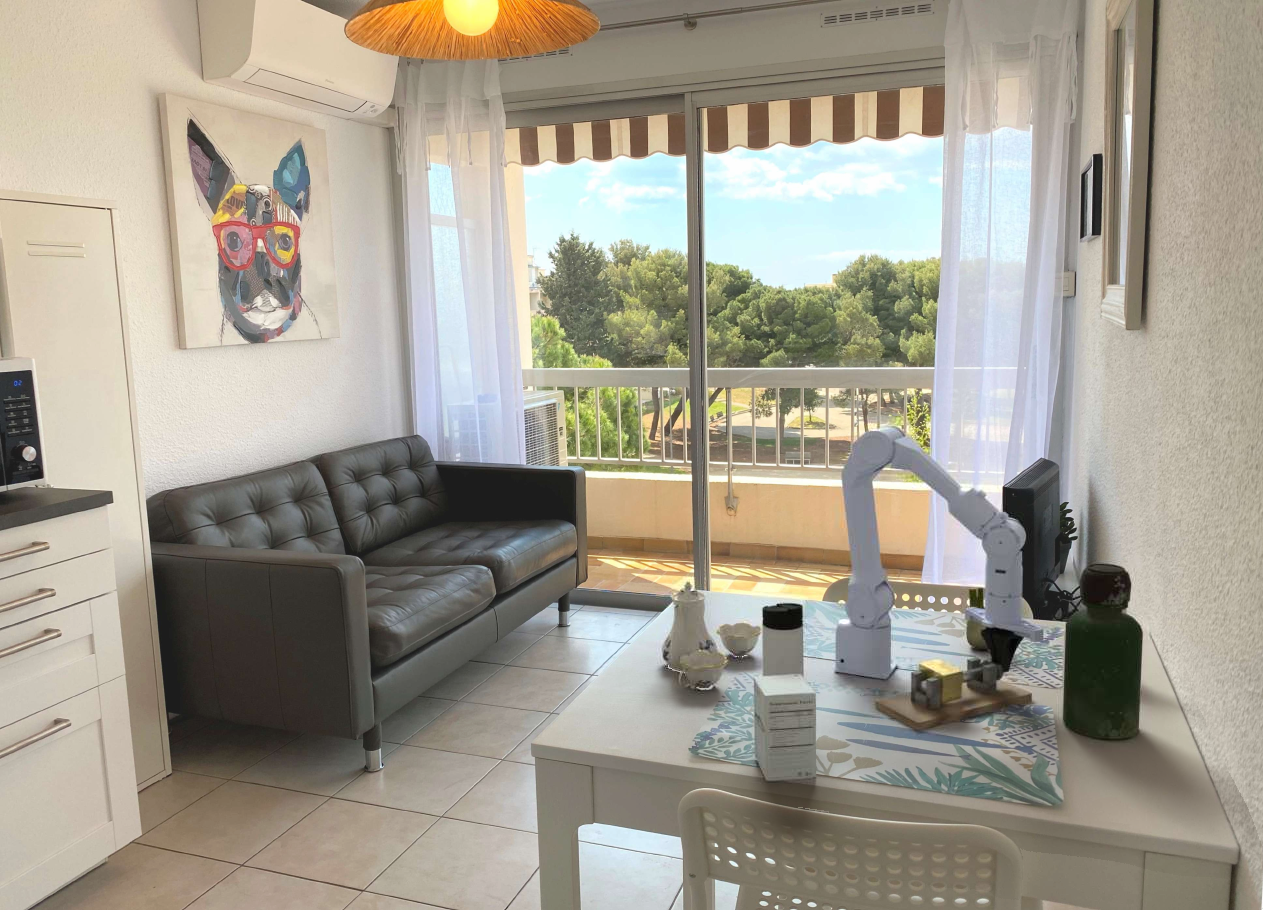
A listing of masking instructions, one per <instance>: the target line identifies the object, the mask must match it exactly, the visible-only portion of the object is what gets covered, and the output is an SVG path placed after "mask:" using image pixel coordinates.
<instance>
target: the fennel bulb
mask: <svg viewBox="0 0 1263 910" xmlns="http://www.w3.org/2000/svg"><path fill="white" fill-rule="evenodd" d="M968 596H969V599H968V600H969V608H971V607H975V608H979V609H984V610H985V598H984V587H981V586H979V587H977V588H976V587H970V588H968ZM966 621H967V622H966V630H965V631H966V632H965V633H966V635H965V637H966V640H967V641H966V642H967V643H968V644H969V646H970V647H973V648H974V649H978V650H984V651H989V649H988V646H987V644H986V642H985V640H984V639H983V637H982V636H981V630H984V629H986V626H983V625H982V623H980V622H977V621H974V620H971V621H969V620H966Z"/></svg>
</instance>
